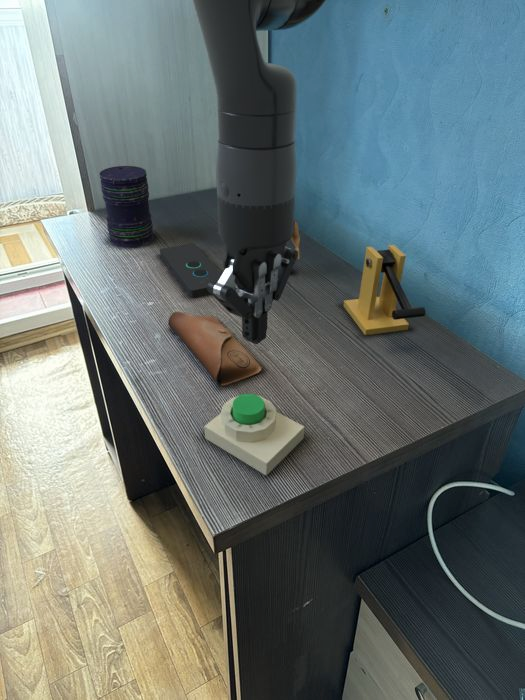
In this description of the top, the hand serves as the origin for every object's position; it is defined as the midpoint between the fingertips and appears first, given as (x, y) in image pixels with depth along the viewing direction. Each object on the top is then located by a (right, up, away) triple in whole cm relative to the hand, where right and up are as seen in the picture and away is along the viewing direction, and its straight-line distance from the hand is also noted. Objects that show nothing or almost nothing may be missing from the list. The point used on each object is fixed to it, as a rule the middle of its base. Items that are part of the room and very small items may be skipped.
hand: (254, 339), depth 60 cm
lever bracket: (+21, +5, +33) cm, 39 cm away
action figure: (+4, +14, +46) cm, 48 cm away
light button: (-1, -9, +6) cm, 11 cm away
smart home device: (-13, +14, +46) cm, 50 cm away
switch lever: (+22, +9, +25) cm, 34 cm away
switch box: (0, -13, +8) cm, 15 cm away
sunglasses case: (-7, -1, +24) cm, 25 cm away
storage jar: (-29, +24, +58) cm, 69 cm away
